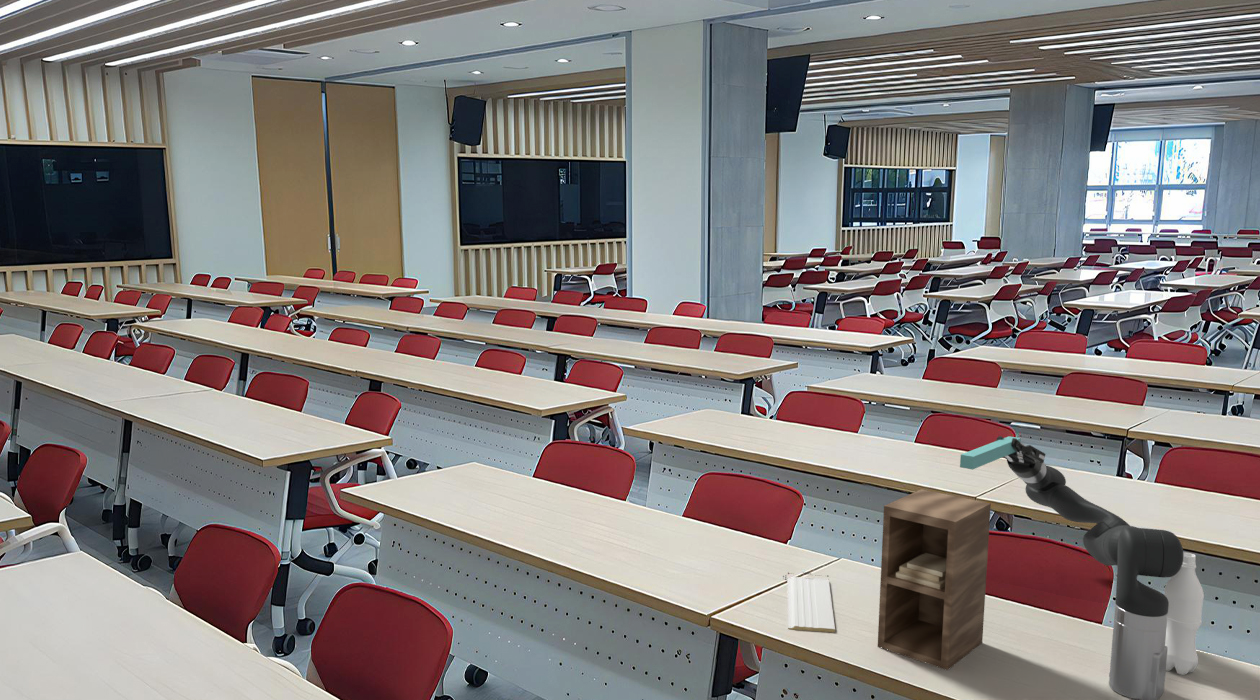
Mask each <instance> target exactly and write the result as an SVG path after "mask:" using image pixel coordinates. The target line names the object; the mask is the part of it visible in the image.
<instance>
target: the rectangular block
mask: <svg viewBox="0 0 1260 700" xmlns="http://www.w3.org/2000/svg"><path fill="white" fill-rule="evenodd" d="M1003 438H1004V439H1001V440H998V441H995V440H994V441H993V442H990V443H987V444H985V445H983V446H982V445H981V446H980V447H977V448H975V449H972V450H969V451H967V452H965V453H961V454H960V456H959V457H960V459H959V460H960V462H959V468H963V469H968V470H976V469H977V468H980V467H982V466H985V465H987V464H990V463H992V462H994V461H997V460H1000V459H1002V458H1004V456H1007V455H1009V454H1012V453H1014V452H1016V451H1015V450H1014V449H1013V448H1012V446H1011V444H1012V439H1013V438H1016V439H1017V440H1018V441H1019V442H1020V443H1022V442H1021V441H1022V438H1020V437H1014V436H1009V435H1008V436H1007V437H1006V436H1005V437H1003Z"/></svg>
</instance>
